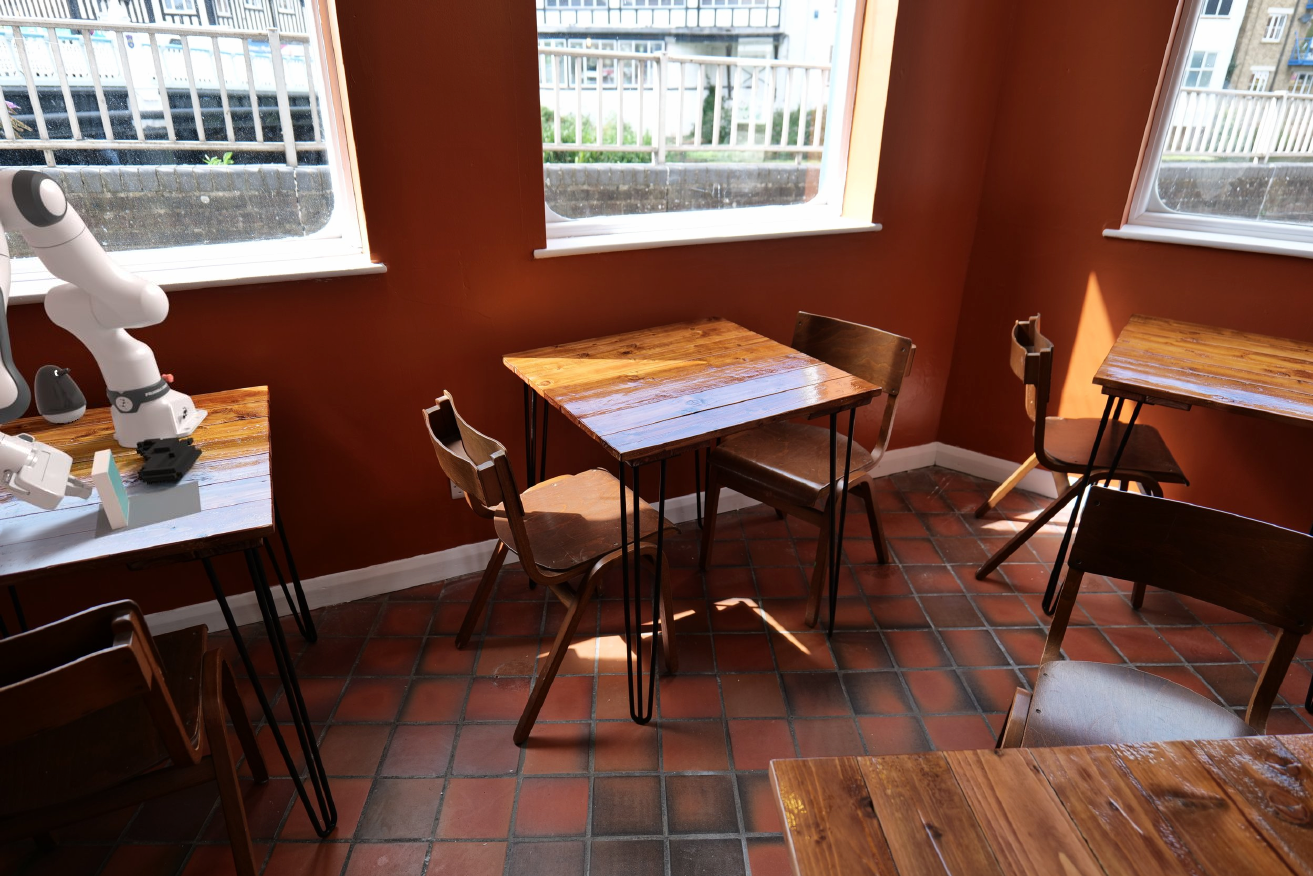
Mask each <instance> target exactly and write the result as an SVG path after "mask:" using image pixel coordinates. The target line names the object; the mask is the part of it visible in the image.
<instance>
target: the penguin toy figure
mask: <svg viewBox="0 0 1313 876" xmlns="http://www.w3.org/2000/svg"><path fill="white" fill-rule="evenodd" d="M70 371H71V369H70V368H68V367H66V368H64V369H62V368H60V367H59V366H56V365H52V364H51V365H50V364H48V365H44V366H42V367H40V368H39V369H38V370H37V373H36V374H35V379H34V397H35V403H36V407H37V410H38V413H39V414H40V415H42V417H43V418H44V419H45V420H47V421H48V422H50V423H54V424H57V423H64V424H69V423H72V421H73V422H75V420H76V421H78V420H79V419H81V418H82V417H83V416H84V414H85V412H86V409H87V408H86V407H87V400H86V398H85V396H84V394H83V392H82V391H81V390H80V389H81V388H79V386H78V384H77V383H76V382H75V381H74V380H73V378H71V376H70V375H69V374H68V373H70ZM77 419H78V420H77ZM68 422H69V423H68Z"/></svg>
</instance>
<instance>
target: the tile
mask: <svg viewBox="0 0 1313 876" xmlns="http://www.w3.org/2000/svg"><path fill="white" fill-rule="evenodd" d="M90 477H91V478H92V481H93V484H94V486H95V489H96V491H97V494H98V496H99V500H100V501H101V502H100V503H102V504H103V507H104V509H105V512H106V514H107V517H108V520H109V522H110V525H111V527H112V530H113V529H117V528H121V527H125V526H128V513H129V498H128V497H129V496H128V494H127V491H126V487H125V485H124V483H123V480H122V478H121V474H120V472H119V469H118V467H117V464H116V462H115V459H114V456H113V453H112V451H111V448H108V449H105V450H99V451H95V452H94V457H93V463H92V469H91V474H90Z"/></svg>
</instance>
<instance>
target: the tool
mask: <svg viewBox="0 0 1313 876" xmlns="http://www.w3.org/2000/svg"><path fill="white" fill-rule="evenodd" d="M194 442H195V441H194V437H187V438H185V439H184V438H182V439H179V438H178V437H175V438H165V439H162V440H161V439H160V438H156V439H145V440H144V441H142V442H138V443H137V448H136V449H135V451H136V454H137V455H140V457H142V458H143V461H144V464H142V466H141V467H140V469H139V470H138V471H137V476H138V479H139V481H140V482H141V481H142V483H146V485H147V486H148V485H155V484H157V485H158V484H165V483H176V482H180V480H182V478H183V477H184V476H185V475H186V473H188V471H190V469H191V467H192V466H193V465H194V464H195V463H196V461H197V460H198V459H199V457H201V455H202V454H203V452H202V449H201V448H198V449H196V446H195V445H194V444H193V443H194Z"/></svg>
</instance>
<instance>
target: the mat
mask: <svg viewBox="0 0 1313 876" xmlns="http://www.w3.org/2000/svg"><path fill="white" fill-rule="evenodd" d="M128 498H129V513H128V526H125V527H121V528H117V529H113V530H112V527H111V525H110V522H109V520H108V517H107V514H106V512H105V509H104V507H103V504H102V502H100V503H99V507H98V514H97V520H96V521H97V522H96V529H95V534H94V539H95V540H96V539H100V538H105V537H108V536H111V535H115V534H118V533H119V534H120V533H122V532H127V531H131V530H134V529H139V528H143V527H147V526H150V525H151V526H152V525H155V524H159V523H162V522H166V521H171V520H175V519H178V518H183V517H186V516H190V515H193V514H198V513H202V506H201V504H202V503H201V496H200V486H199V480H195V481H190V482H187V483H181V484H178V485H174V486H170V487H166V488H161V489H157V490H153V491H148V492H144V493H140V494H136V495H131V496H128Z"/></svg>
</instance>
